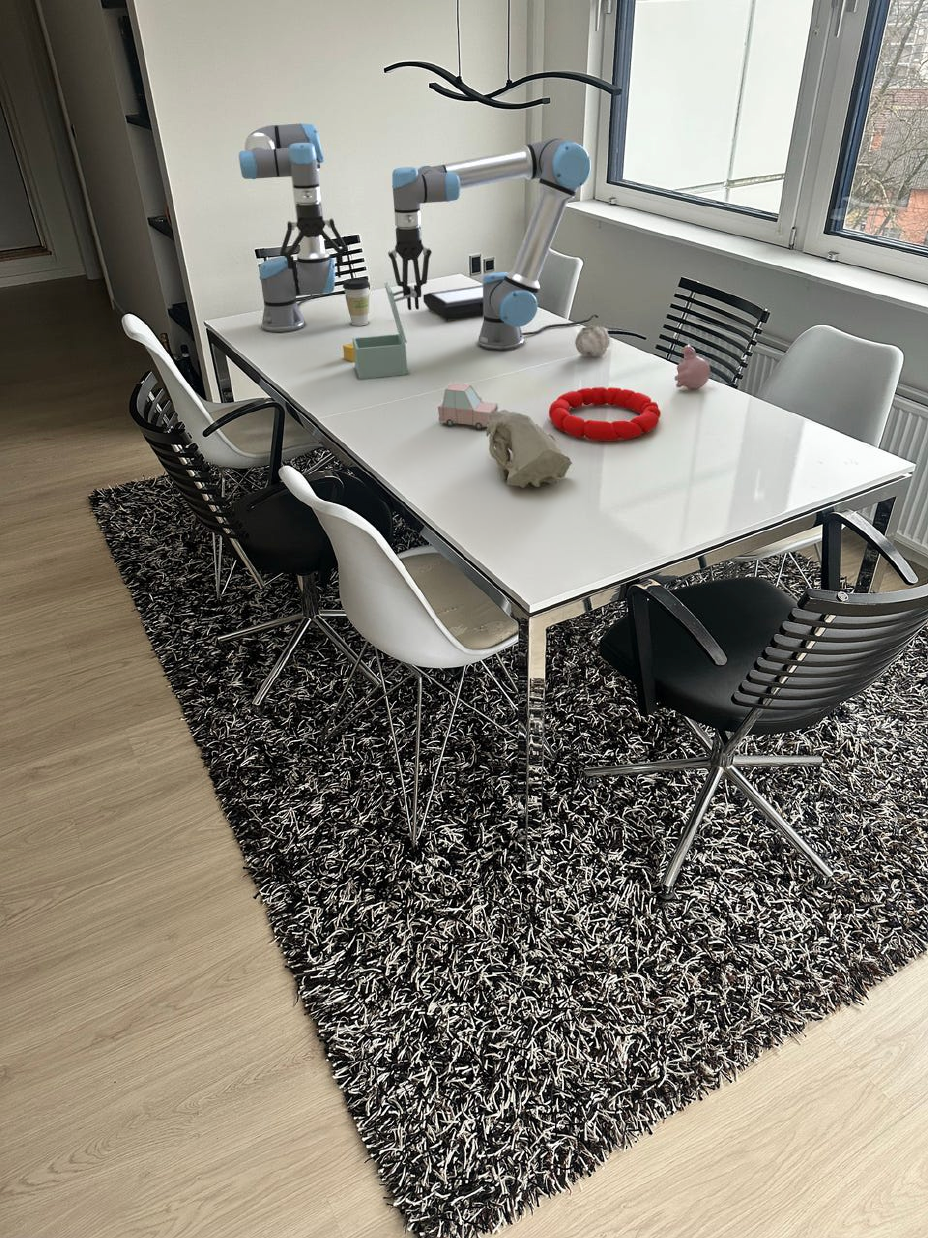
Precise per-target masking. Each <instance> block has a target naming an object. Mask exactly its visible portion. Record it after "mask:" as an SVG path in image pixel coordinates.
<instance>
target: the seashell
mask: <svg viewBox="0 0 928 1238" xmlns="http://www.w3.org/2000/svg"><path fill="white" fill-rule="evenodd" d="M610 337H611V336H610V334H609V332H608V331H607V329H606V328H605V327H604V325H597V324H596V325H595V324H587V326H586V327H585V326H584V327H582V328H581V329H580V330H579V332H578V333H577V335H576V337H575V341H574V344H575V347H576V350H577V352H578V353H579V354H580V355H581V356H583V357H586V358H587V357H591V356H592V357H601V356H603V355H604V354H605V353H606V352H607V351H608V350H607V349H608V348H609V346H610V343H611V338H610Z"/></svg>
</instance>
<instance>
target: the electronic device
mask: <svg viewBox="0 0 928 1238" xmlns="http://www.w3.org/2000/svg"><path fill="white" fill-rule="evenodd" d="M422 297H423V304H425V306H426V307H427V309H428V310H429V311H430V312H432V313H434V314H435V315H436V316H439V317H440V318H441V319H444V320H445V321H447V322H448V321H455V320H461V319H466V318H475V317H480V316H483V286H482V284H481V285H476V286H469V287H462V288H455V289H448V290H441V291H440V290H439V291H435V292H428V293H425V294H422Z"/></svg>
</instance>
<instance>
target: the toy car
mask: <svg viewBox="0 0 928 1238" xmlns="http://www.w3.org/2000/svg"><path fill="white" fill-rule="evenodd" d="M498 409H499V404H498V403H497V402H490V401H489V402H487V401H483V397H481V396H480V395H479V394H478V393H477V391H476V390H475V389H474V386H472V384H469V383H459V382H451V383H450V384H449V385H448V386H447V387H446V388H445V389H444V394H443V399H442V403H440V404H439V405H438V406H437V413H438V421H439V422H443V423H446V425H447V426H448V427H452V426H454V425H455V424H461V425H469V426H473V427H475V429H476V430H479V431H480V430H481V429H483V428H485V427H486V428H487V423H488V422H490V414H491V413H492V412H496V411H499V410H498Z"/></svg>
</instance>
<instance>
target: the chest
mask: <svg viewBox="0 0 928 1238" xmlns="http://www.w3.org/2000/svg"><path fill="white" fill-rule="evenodd" d="M352 343H353V349H354V359H355V361H354V368H355V370H356V373H357V376H358V380H364V379H374V378H375V379H376V378H387V377H395V376H396V377H397V376H398V377H399V376H406V375H408V363H407V360H408V359H407V347H406V343H403V341H402V339H401V337H400V335H399V333H394V334H384V335H372V336H362V337H352Z"/></svg>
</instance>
